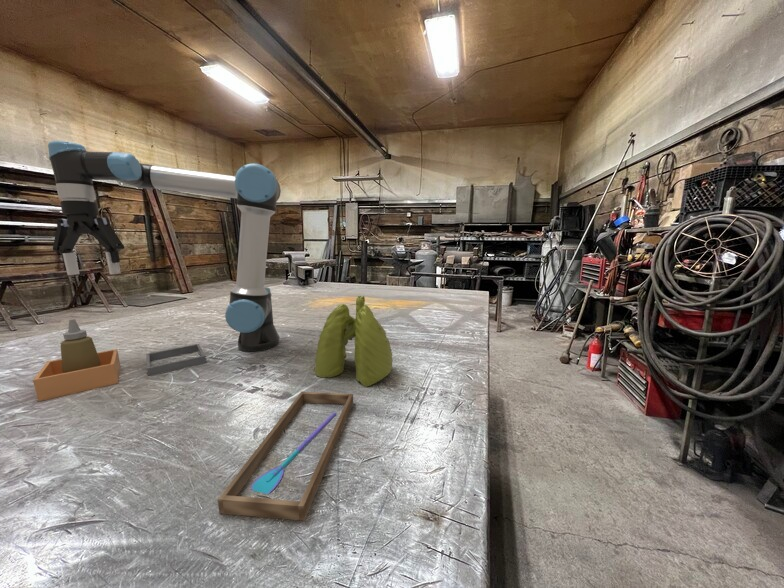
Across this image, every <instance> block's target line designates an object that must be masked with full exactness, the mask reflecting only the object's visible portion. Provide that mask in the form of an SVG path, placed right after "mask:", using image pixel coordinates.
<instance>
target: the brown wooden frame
mask: <svg viewBox="0 0 784 588" xmlns="http://www.w3.org/2000/svg"><path fill="white" fill-rule="evenodd" d="M305 403H308V404H309V403H310V404H313V403H314V404H328V405H330V404H331V405H344V406H343V408H342V411H341V412H340V414H339V417H338V418H337V421H336V423H335V426H334V427H333V430H332V432H331V434H330V436H329V439H328V440H327V443H326V445H325V447H324V448H323V452H322V454H321V456H320V458H319V460H318V462H317V464H316V467H315V469H314V471H313V473H312V476H311V478H310V480H309V482H308V483H307V486H306V488H305V491H304V492H303V494H302V497H301V499H300V500H288V499H275V498H265V497H264V498H262V497H251V496H250V497H249V496H240V492H241V491H242V490H243V488H244V487H245V485H246V484H247V483H248V481H249V480H250V478H251V477H252V475H253V474H254V473H255V471H257V468H259V465H260V464H261V463H262V461H263V460H264V459H265V458H266V456H268V455H267V454H268V453H270V451H271V449H272V448H273V446H274V445H275V444H276V442H277V440H278V439H279V438H280V436H281V435H282V434H283V433H284V431H285V429H286V428H287V426H288V425H289V424H290V423H291V421H292V420H293V418H294V417H295V415H296V414H297V413H298V411H299V410H300V408H302V406H303V405H304V404H305ZM353 405H354V394H353V393H337V392H336V393H335V392H313V391H310V392H309V391H300V393H299V394H298V395H297V397H296V398H295V400H294V401H293V402H292V403H291V404H290V406H289V407H288V408H287V409H286V411H285V412H284V414H283V415H282V416H281V417H280V418H279V420H278V421H277V422H276V423H275V425H274V426H273V427H272V429H271V430H270V432H269V433H268V434H267V435H266V436H265V438H264V439H263V441H261V442H260V444H259V445H258V447H257V448H256V449H255V450H254V451H253V453H252V454H251V455H250V457H249V458H248V460H247V461H246V462H245V463H244V464H243V466H241V468H240V470H239V471H238V472H237V473H236V475H235V476H234V477H233V479H232V480H231V481H230V483H229V484H228V485H227V486H226V488H225V489H224V490H223V491H222V493H221V494H220V495H219V497H218V498H217V505H218V513H219V514H226V515H236V516H237V515H239V516H248V517H249V516H250V517H260V518H270V519H271V518H272V519H282V520H292V521H294V520H295V521H305V520H306V518H307V516H308V512H309V511H310V508H311V506H312V503H313V501H314V499H315V497H316V494H317V492H318V490H319V487H320V484H321V482H322V479H323V477H324V474H325V472H326V469H327V468H328V464H329V463H330V461H331V458H332V456H333V453H334V450H335V448H336V446H337V443H338V441H339V438H340V436H341V434H342V431H343V429H344V427H345V425H346V421H347V420H348V416H349V414H350V412H351V409H352V407H353ZM238 495H239V496H238Z"/></svg>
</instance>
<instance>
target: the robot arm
mask: <svg viewBox="0 0 784 588" xmlns="http://www.w3.org/2000/svg"><path fill="white" fill-rule="evenodd" d="M47 148H48V154H49V156H48V158H49V161H50V164H51V169H52V171H53V177H54V181H55V186H56V191H57V192H56V193H57V197H58V199H59V200H61V201H60V202H59V203H60V207H61V208H60V209H61V212H62V214H63V215H64V216H66V218H56V226H57V227H56V231H55V235H54V236H55V237H54V240H53V245H52V250H53V251H54V252H58V253H60V254H61V258H62V262H63V264H64V266H65V269H66V273H67V274H66V275H67V276H74V275H75V276H76V275H80V270H79V265H78V260H77V256H76V252H74V249H75V246H76V244H77V242H78V241H79V238H80V237H81V236H83V235H91V236H92V237H93V238H94V239H95V240H96V241H98V243H100V244H101V246H103V248H104V249H106V251H105V257H106V262H107V263H106V264H107V267H108V273H109V275H116V274H117V275H118V274H121V273H122V272H121V267H120V262H121V260H120V255H119V251H122V250H125V246H124V244H123V242H122V241H121V239H120V238H119V236H118V235H117V233H116V232H115V230H114V229H113V227H112V225H111V223H110V219H109V218H108V217H98V215H100V211H99V207H98V203H96V202H95V201H97V198H96V194H95V190H94V182H93V181H115V182H120V183H123V184H125V185H130V186H134V187H136V188H138V189H146V190H148V189H149V190H150V189H155V190H164V191H172V192H178V193H179V192H180V193H187V194H195V195H197V194H198V195H206V196H213V197H220V198H221V197H223V198H230V199H236V207H237V209H238V210H239V211H240V213H241V217H240V227H239V242H238V254H237V256H238V257H237V266H236V267H237V269H236V282H235V283H236V284H235V286H234V287H232V288H231V289H230V292H229V293H230V294H229V304H228V306H227V307H226V310H225V312H224V313H225V314H224V316H225V321H226V323H227V325H228V326H229V327H230V329H232V330H233V331H236V332H238V333H239V335H238V339H237V349H238V350H240V351H242V352H261V351H265V350H269V349H272V348H276V347H277V346H278V345H279V344H280V342H281V341H280V336H279V333H278V332H277V331H278V330H277V329H276V326H275V325H274V316H273V304H272V303H273V302H272V297H273V296H272V293H271V292H272V290H271V289H270V288H269V287H268V286H267V287H265V280H266V279H265V277H266V270H267V269H266V268H267V267H266V266H267V257H268V245H269V234H270V233H269V232H270V224H271V223H270V222H271V217H272V216H273V215H275V213H277V212H276V211H277V203H278V200H279V199H280V196H281V193H282V190H281V185H280V183H279V181H278V179H277V178H276V176H275V174H274V173H273V171H272V170H270V169H269V168H268V167H266V166H264V165H262V164H259V163H248V164H244V165H242V166H241V167H240V168H239V169H238V170H237V172H236V174H235V175H231V174H230V175H229V174H224V173H223V174H222V173H216V172H215V173H214V172H208V171H200V170H193V169H184V168H177V167H169V166H162V165H155V164H149V163H148V164H147V163H141V162H140V161H139V160H138V159H137V157H136V156H135V155H134V154H131V153H130V152H129V153H128V152H121V151H88V150H87V149H86V146H83V144H80V143H77V142H73V141H64V140H52V141H49V142H48V144H47Z"/></svg>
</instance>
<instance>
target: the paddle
mask: <svg viewBox="0 0 784 588" xmlns="http://www.w3.org/2000/svg"><path fill="white" fill-rule="evenodd" d="M335 416H337V413H336V412H335V411H334V412H332V413H331V414H330V415H329V416H328V417H327V418H326V419H325V420H324V421H323V423H321V424H320V425H319V426H318V427H317V428H316V429H315V430H314V431H313V432H312V433H311V434H310V435H309V436H308V437H307V438H306V439H305V440H304V441H303V442H301V444H300V445H299V446H298V447H297V448H296V449H295V450H294V451H293V452H292V453H291V454H290V455H289V456H288V457H287V458H286V459H285V460H284V462H282V463H281V464H280V465H279V466H278V467H275V468H272V469H270V470H268V471H266V472H265V473H263V474H261V475H260V476H259V477H258V478H257V479H255V481H254V482H253V483H252V485H251V489H250V490H251V491H254V492H257V493H262V494H265V495H269V494H270V493H272V492H273V491H274V489H276V487H278V485H279V483H280V482H281V481H282V478H283V477H284V476H283V475H284V472H285V471H284V469H285V467H287V465H289V464H290V463H291V462H292V461H293V460H294V458H295V457H297V456H298V454H300V453H301V452H302V451H303V450H304V449H305V447H306V446H308V445H309V443H310V442H311V441H313V439H314V438H315V437H316V436H317V435H318V434H319V433H320V432H321V431H322V430H323V429H325V427H326V426H327V425H328V424H329V423H330V422H331V421H332V420H333V419H334V418H335Z"/></svg>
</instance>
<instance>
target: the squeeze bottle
mask: <svg viewBox="0 0 784 588" xmlns="http://www.w3.org/2000/svg"><path fill="white" fill-rule="evenodd" d="M67 329H68V330H67V332H64V333H63V340H62V341H61V342H60V355H61V357H60V359H62V371H63V373H67V372H72V371H77V370H82V369H87V368H92V367H98V366H100V365H101V362H100V359H99V357H98V354H97V353H98V352H97V348H96V346H95V343H94V341H93V338H92V337H91V336H87V330H86V329H81V328H80V327H79V324H78V322H77V321H76V319H69V320H68V328H67Z"/></svg>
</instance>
